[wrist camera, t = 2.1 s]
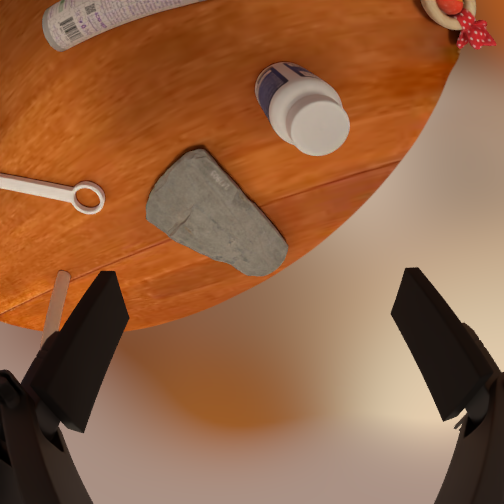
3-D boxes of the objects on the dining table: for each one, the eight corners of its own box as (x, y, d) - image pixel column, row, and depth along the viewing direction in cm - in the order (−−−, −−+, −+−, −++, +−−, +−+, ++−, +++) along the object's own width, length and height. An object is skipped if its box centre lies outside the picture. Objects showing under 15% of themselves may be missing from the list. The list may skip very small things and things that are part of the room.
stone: (305, 258, 37) (244, 292, 41) (299, 243, 39) (241, 276, 43) (197, 151, 23) (126, 213, 27) (197, 138, 25) (130, 197, 29)
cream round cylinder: (55, 273, 35) (35, 358, 26) (63, 268, 35) (43, 357, 26) (65, 280, 37) (48, 365, 28) (73, 276, 37) (56, 363, 27)
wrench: (-53, 153, 16) (-48, 184, 19) (-56, 156, 16) (-50, 187, 19) (107, 182, 27) (103, 216, 30) (106, 185, 26) (101, 219, 29)
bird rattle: (399, -55, 10) (468, -36, 8) (402, 29, 20) (463, 37, 18) (436, -46, 7) (506, -19, 6) (432, 53, 17) (494, 63, 16)
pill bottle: (266, 121, 25) (294, 177, 19) (244, 73, 21) (266, 108, 15) (318, 102, 24) (365, 150, 18) (301, 53, 20) (350, 80, 14)
